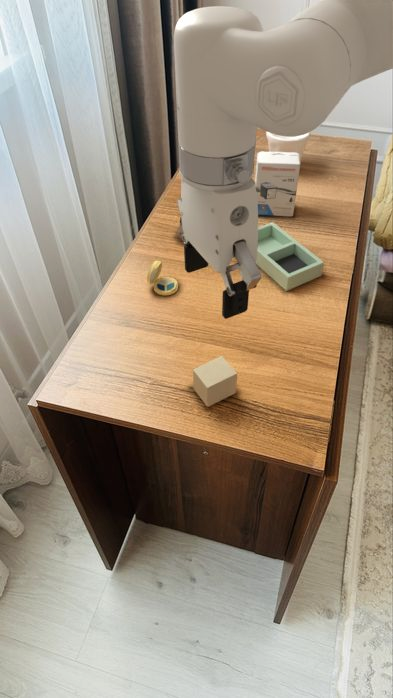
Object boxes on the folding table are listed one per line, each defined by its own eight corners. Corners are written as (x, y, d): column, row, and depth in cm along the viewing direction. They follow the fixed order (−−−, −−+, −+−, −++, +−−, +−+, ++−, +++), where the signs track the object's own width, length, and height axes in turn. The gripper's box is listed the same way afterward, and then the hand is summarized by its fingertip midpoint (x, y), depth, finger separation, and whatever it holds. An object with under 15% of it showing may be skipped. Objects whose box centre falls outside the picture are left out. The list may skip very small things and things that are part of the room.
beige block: (236, 392, 74) (237, 373, 70) (207, 407, 72) (207, 388, 69) (221, 375, 76) (222, 355, 73) (193, 388, 74) (192, 369, 71)
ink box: (252, 215, 106) (256, 163, 97) (253, 203, 109) (256, 151, 101) (293, 217, 105) (301, 164, 96) (292, 204, 108) (300, 152, 100)
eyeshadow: (170, 298, 88) (168, 276, 85) (146, 290, 90) (143, 268, 86) (182, 283, 91) (181, 261, 87) (158, 276, 93) (156, 254, 89)
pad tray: (271, 235, 101) (272, 221, 99) (321, 275, 92) (324, 262, 89) (238, 247, 98) (238, 234, 96) (286, 291, 89) (288, 277, 87)
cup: (257, 162, 122) (260, 124, 115) (295, 156, 123) (300, 118, 116) (271, 182, 115) (275, 142, 108) (311, 176, 117) (318, 136, 110)
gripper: (298, 188, 45) (279, 322, 58) (208, 118, 56) (208, 245, 68) (227, 210, 43) (222, 345, 56) (147, 133, 54) (158, 261, 66)
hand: (214, 290), depth 62 cm, fingers open, 9 cm apart
